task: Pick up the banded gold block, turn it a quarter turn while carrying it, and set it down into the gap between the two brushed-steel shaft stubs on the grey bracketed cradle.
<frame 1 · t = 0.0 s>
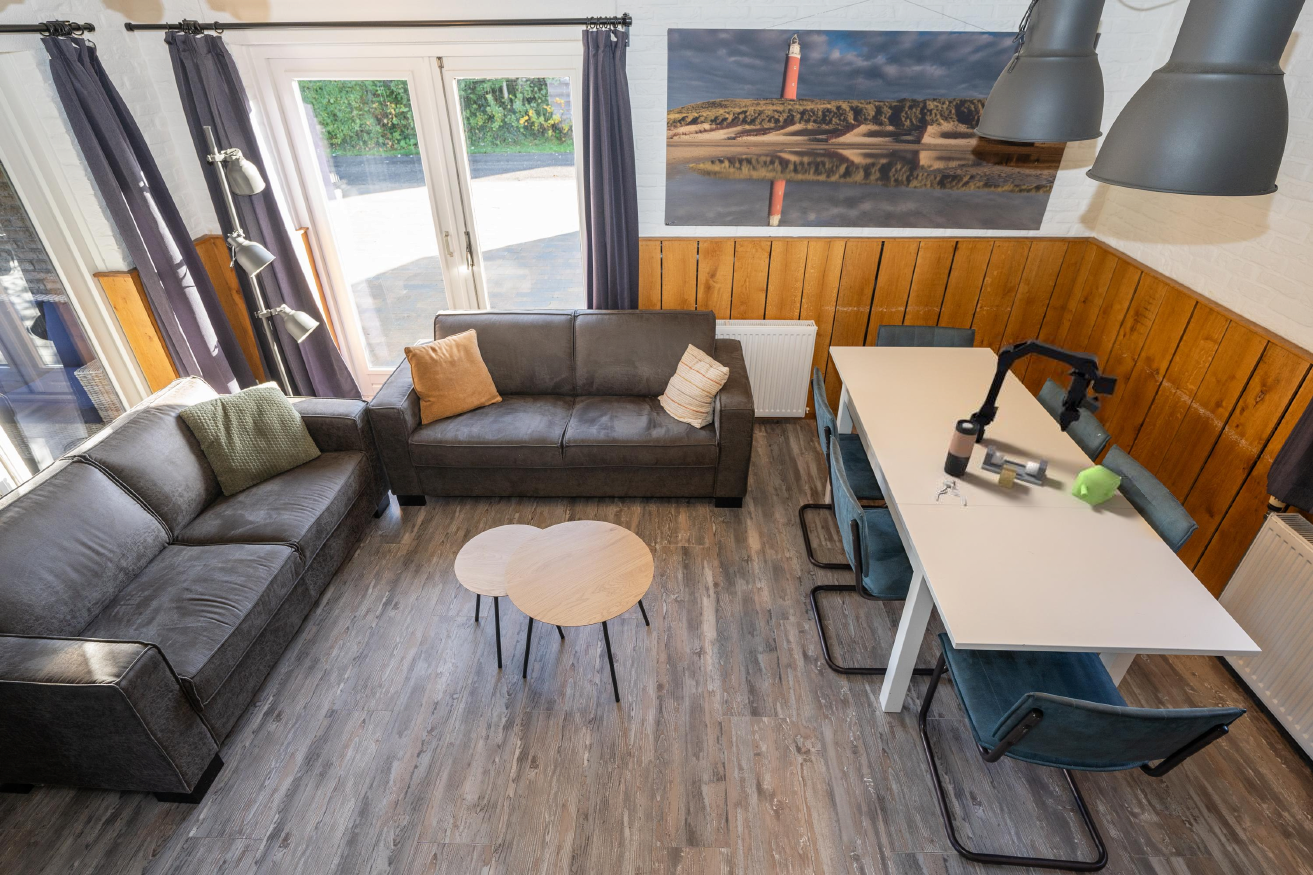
hand: (1063, 426, 245), 15 cm above the table, fingers open, 9 cm apart
travel mug: (953, 472, 244), on the table
green lump: (1091, 498, 232), on the table
banded gold block: (1005, 482, 239), on the table
white thin branched piece: (948, 492, 234), on the table
grey bracketed cradle: (1012, 470, 246), on the table
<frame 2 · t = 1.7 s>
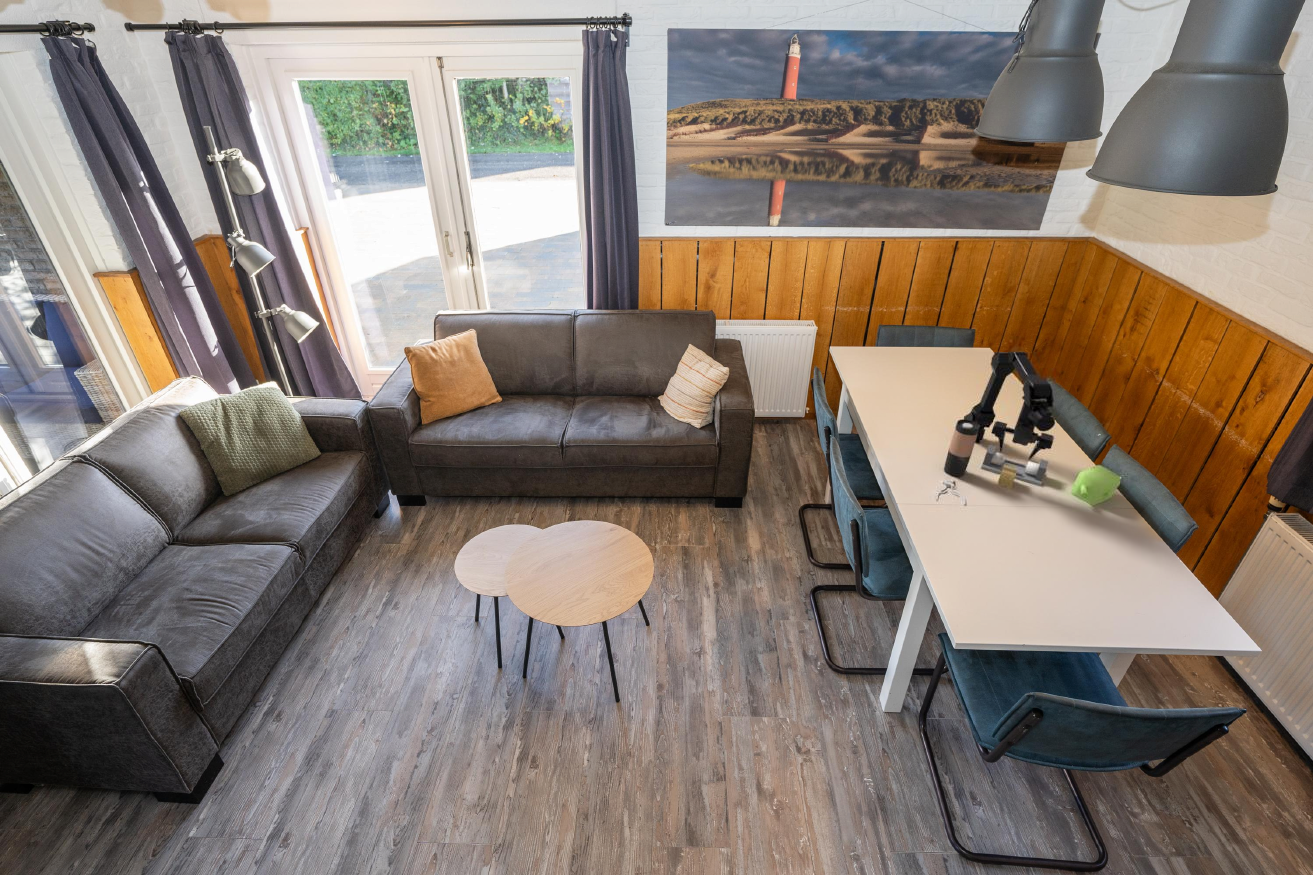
hand: (1014, 455, 233), 11 cm above the table, fingers open, 9 cm apart
nothing on the table moved.
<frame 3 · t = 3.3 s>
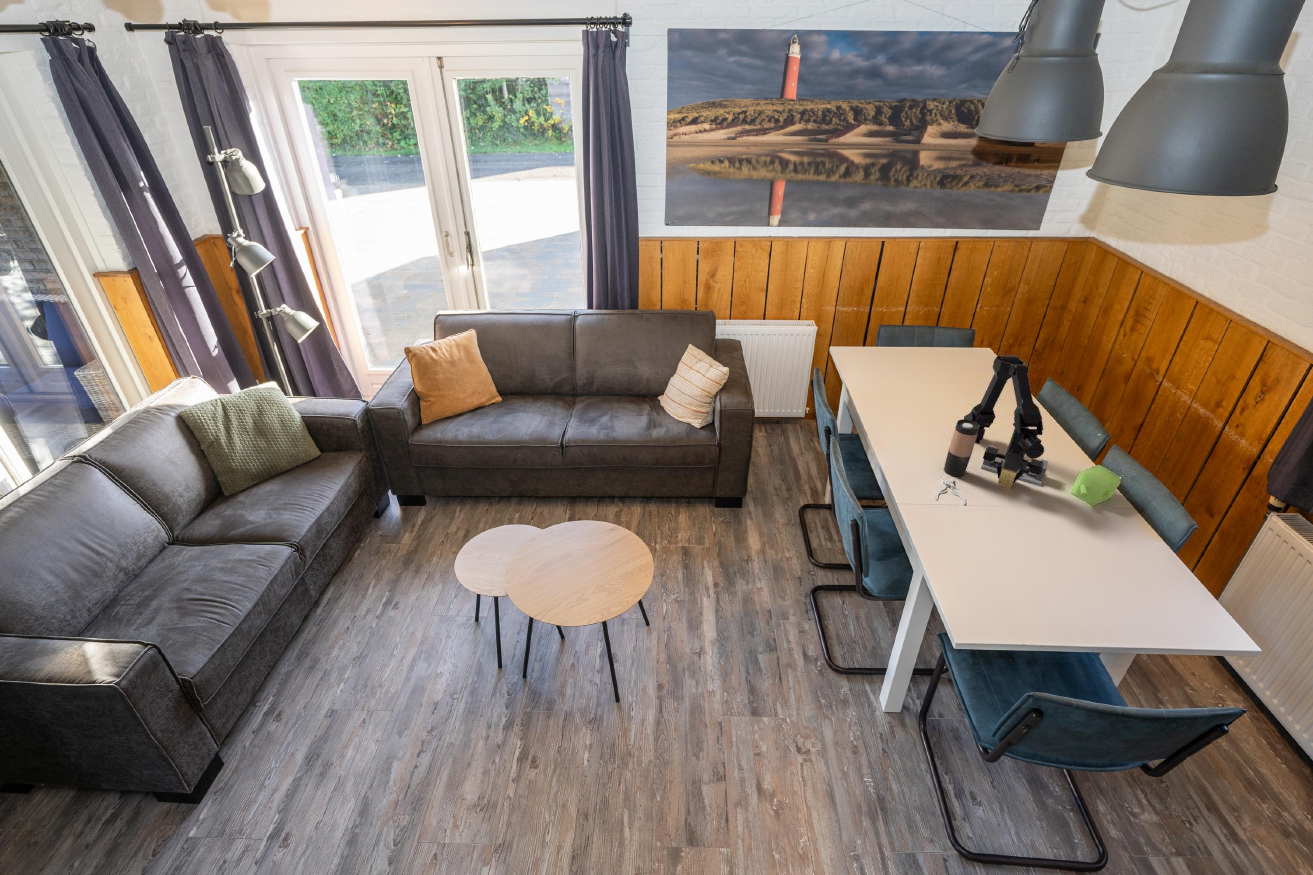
hand: (1006, 480, 238), 1 cm above the table, fingers closed on banded gold block, 5 cm apart
banded gold block: (1005, 482, 239), on the table, touching gripper
everything else where it was.
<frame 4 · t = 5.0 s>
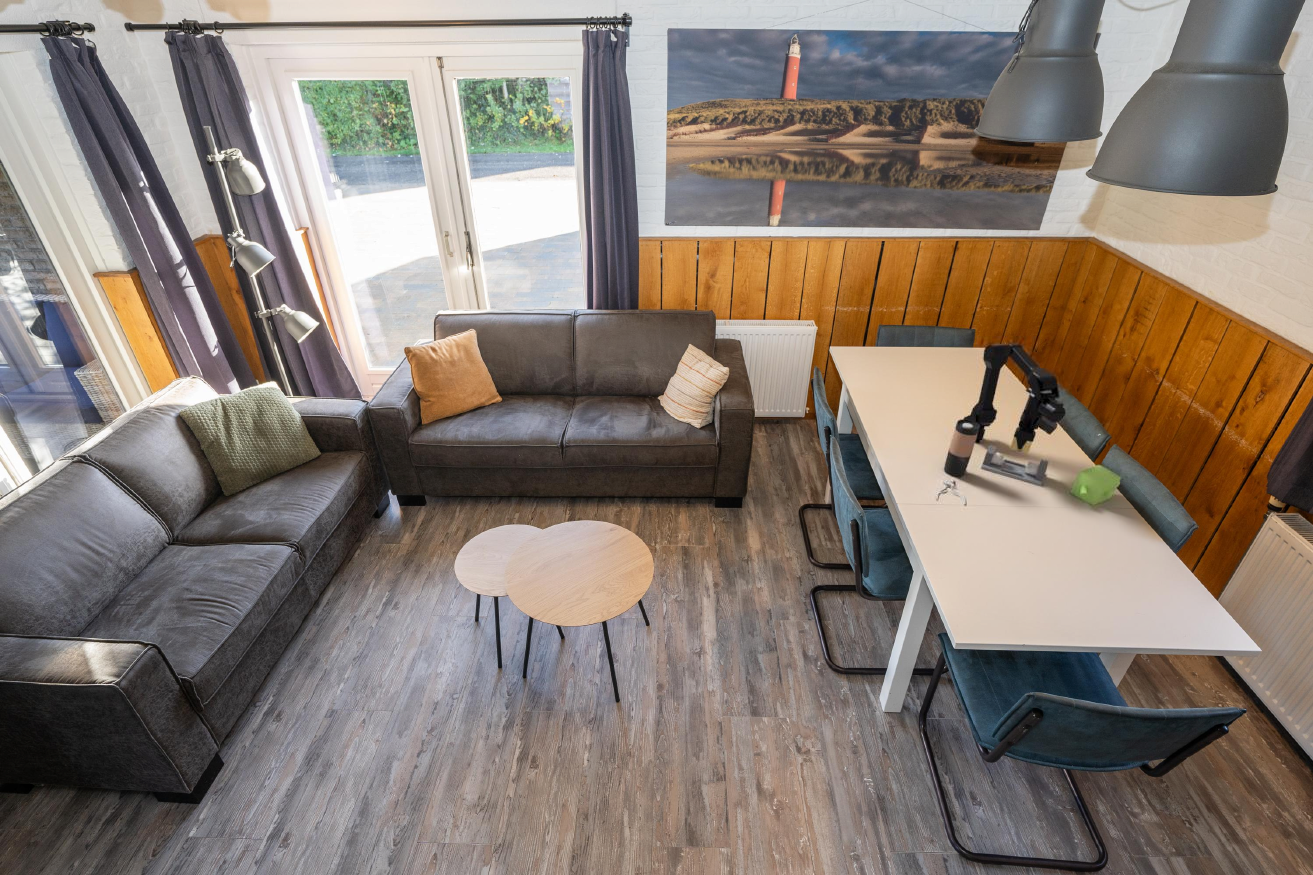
hand: (1020, 446, 240), 11 cm above the table, fingers closed on banded gold block, 5 cm apart
banded gold block: (1019, 448, 240), point 10 cm above the table, touching gripper
everything else where it was.
when the fingers open (3 cm above the table, at t = 6.7 s): banded gold block drops 1 cm, resting on grey bracketed cradle.
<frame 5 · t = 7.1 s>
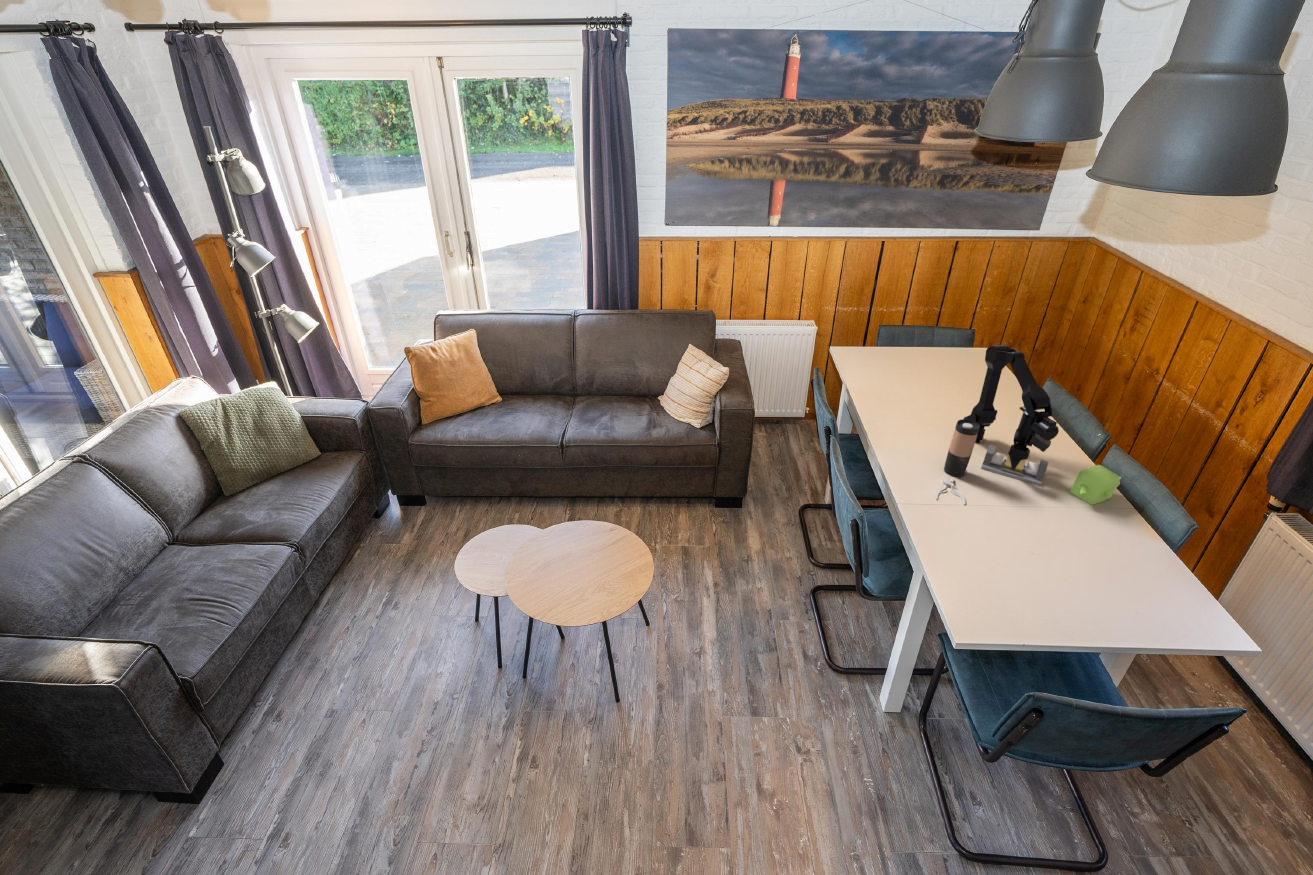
hand: (1014, 462, 244), 3 cm above the table, fingers open, 9 cm apart
banded gold block: (1013, 468, 245), point 1 cm above the table, touching grey bracketed cradle
everything else where it was.
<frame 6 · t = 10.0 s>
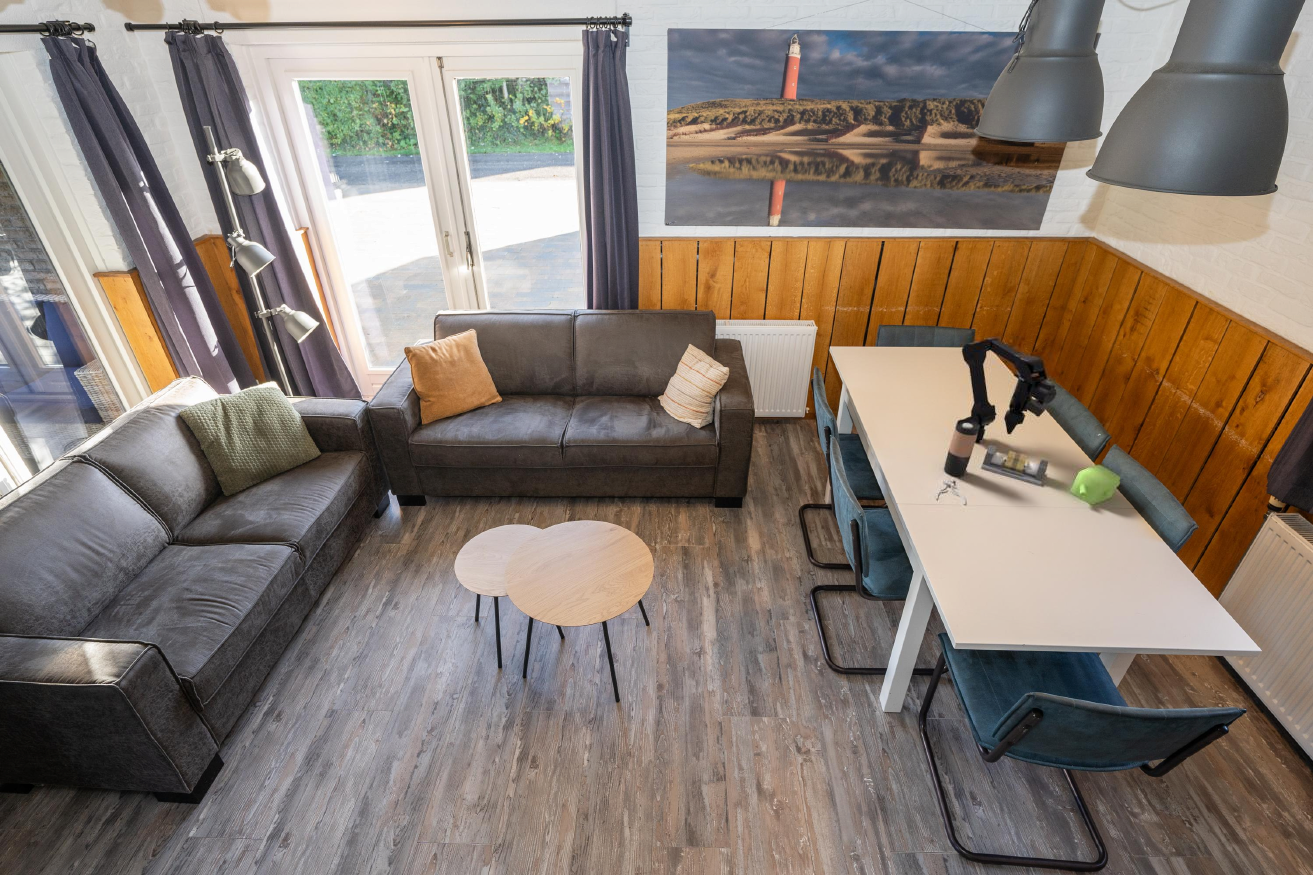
hand: (1010, 428, 248), 12 cm above the table, fingers open, 9 cm apart
nothing on the table moved.
at the end: banded gold block 0.0 cm off-centre on the grey bracketed cradle, point 1.0 cm above the grey bracketed cradle's base; banded gold block tilted 0°; the gripper is holding nothing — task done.
